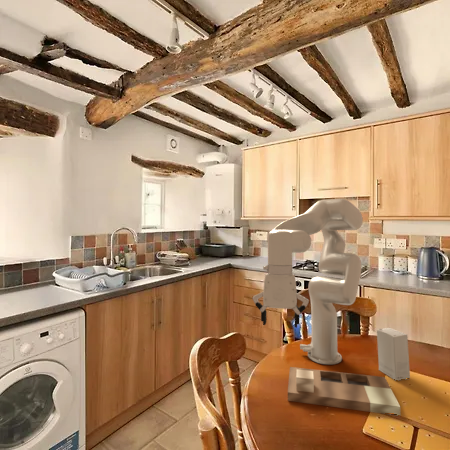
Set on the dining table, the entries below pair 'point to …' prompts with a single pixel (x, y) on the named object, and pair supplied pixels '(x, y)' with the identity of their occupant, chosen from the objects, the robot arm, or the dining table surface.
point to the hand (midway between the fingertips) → (280, 325)
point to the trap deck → (346, 391)
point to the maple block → (304, 381)
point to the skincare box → (393, 353)
